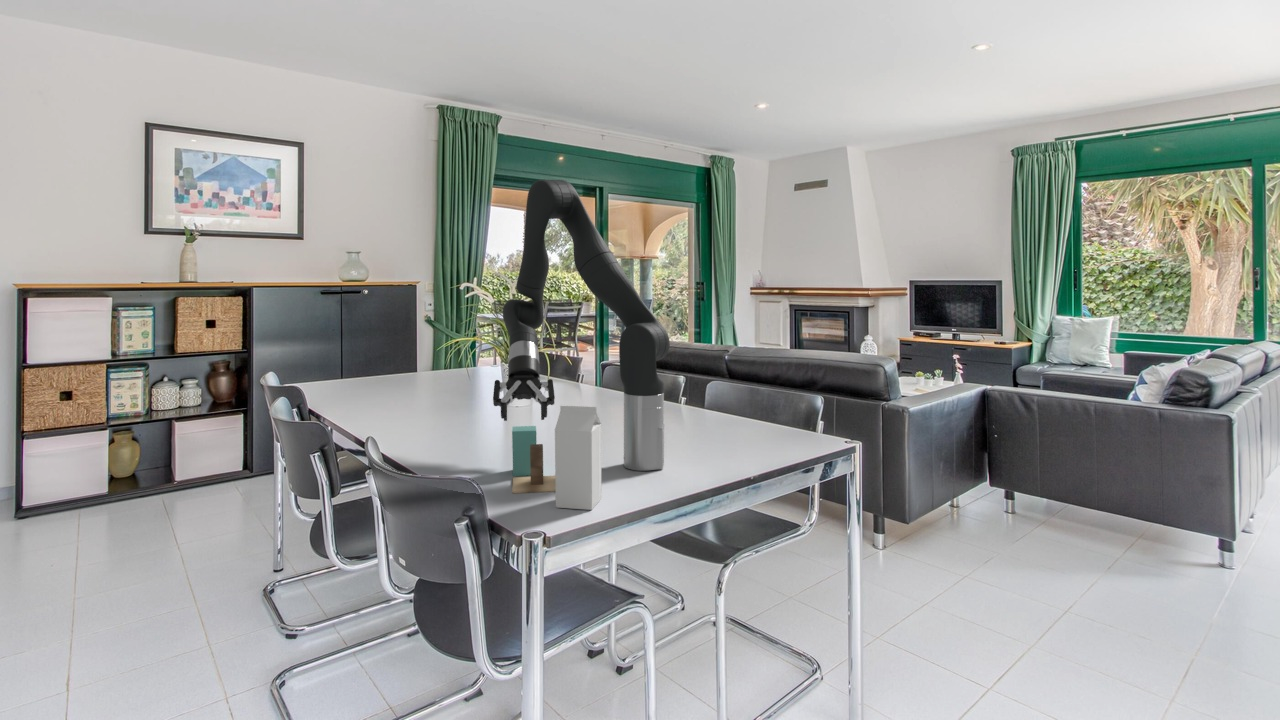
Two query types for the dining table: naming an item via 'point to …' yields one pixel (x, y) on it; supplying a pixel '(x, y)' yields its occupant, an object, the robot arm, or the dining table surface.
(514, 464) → the tall teal foam brick
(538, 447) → the post
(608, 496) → the dining table surface
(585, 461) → the milk carton
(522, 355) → the robot arm
